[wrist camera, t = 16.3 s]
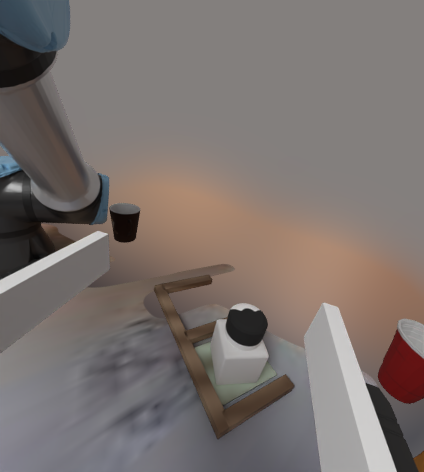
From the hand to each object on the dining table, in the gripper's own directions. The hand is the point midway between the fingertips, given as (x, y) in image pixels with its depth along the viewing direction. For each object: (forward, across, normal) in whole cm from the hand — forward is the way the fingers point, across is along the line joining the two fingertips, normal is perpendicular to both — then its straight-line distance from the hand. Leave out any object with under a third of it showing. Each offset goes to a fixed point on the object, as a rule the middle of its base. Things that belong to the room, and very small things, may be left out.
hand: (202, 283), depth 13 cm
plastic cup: (+24, +35, -28) cm, 51 cm away
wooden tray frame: (+21, 0, -28) cm, 35 cm away
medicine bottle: (+16, +5, -28) cm, 32 cm away
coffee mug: (+42, -35, -28) cm, 62 cm away
